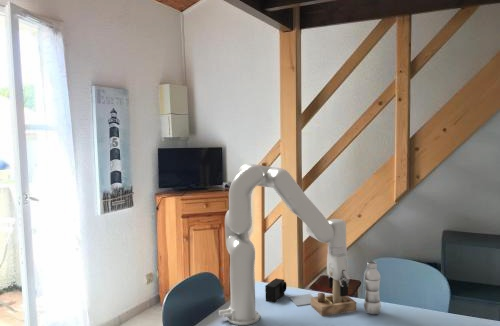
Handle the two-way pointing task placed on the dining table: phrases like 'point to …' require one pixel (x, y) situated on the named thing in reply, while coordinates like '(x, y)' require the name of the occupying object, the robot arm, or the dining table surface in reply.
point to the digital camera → (275, 290)
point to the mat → (301, 299)
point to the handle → (336, 291)
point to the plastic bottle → (372, 289)
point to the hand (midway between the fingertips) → (338, 291)
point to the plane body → (332, 305)
